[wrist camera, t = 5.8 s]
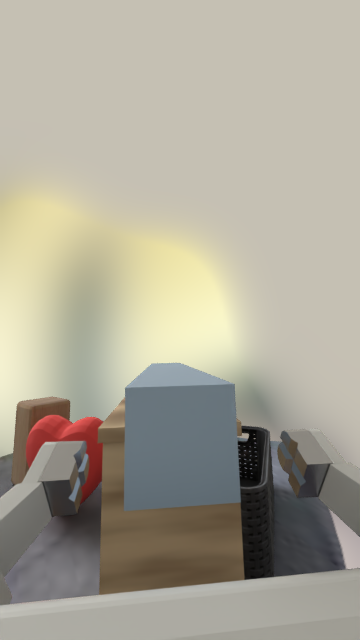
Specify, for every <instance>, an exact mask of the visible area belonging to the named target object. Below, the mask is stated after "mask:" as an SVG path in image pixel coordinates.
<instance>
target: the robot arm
mask: <svg viewBox="0 0 360 640" xmlns="http://www.w3.org/2000/svg"><path fill="white" fill-rule="evenodd" d="M280 438H281V439H282V442H281V443H280V444H279V445H278V451H277V452H278V459H279V462H280V465H281V467H282V469H283V470H284V471H285V472H286V473H288V474H289V480H288V481H289V483H290V485H291V487H292V488H293V490H294V492H295V494H296V496H297V498H302V497H318V498H319V499H320V500H321V501H322V502H323V503H324V504H325V505H326V506H327V507H328V508H329V509H330V510H332V511H333V512H334V513H335V514H336V515H337V516H338V517H339V518H340V519H341V520H342V521H343V522H344V523H345V524H346V525H348V526H349V527H350V528H351V529H352V530H353V531H354V532H355V533H356V534H357V535H358V536H359V537H360V469H359V468H358V467H356V466H354V465H353V464H351V463H346V461H345V460H344V459H343V458H342V456H341V455H340V454H339V453H338V451H337V450H336V449H335V448H334V447H333V445H332V444H331V443H330V441H329V440H328V439H327V437H326V436H325V435H324V434H323V432H322V431H321V430H319V429H300V430H284V431H283V432H282V433H281V437H280ZM86 449H87V444H86V441H59V442H45V443H44V444H43V445H42V446H41V448H40V450H39V452H38V454H37V456H36V457H35V459H34V461H33V463H32V465H31V467H30V469H29V470H28V472H27V474H26V476H25V478H24V480H23V482H22V483H20V484H16V485H15V486H14V487H13V488H12V489H10V490H9V491H8V492H7V493H6V494H4V495H3V496H2V497H1V498H0V640H360V568H357V569H347V570H337V571H327V572H317V573H308V574H298V575H288V576H278V577H269V578H259V579H249V580H240V581H230V582H220V583H210V584H201V585H191V586H181V587H172V588H162V589H152V590H143V591H133V592H123V593H114V594H104V595H94V596H84V597H75V598H65V599H55V600H46V601H36V602H26V603H16V604H10V602H11V599H12V595H11V592H10V590H9V587H8V585H7V583H6V581H5V579H4V577H5V576H6V575H7V573H8V572H9V571H10V570H11V568H12V567H13V566H14V565H15V563H16V562H17V561H18V560H19V559H20V557H21V556H22V555H23V554H24V552H25V551H26V550H27V549H28V548H29V546H30V545H31V544H32V543H33V541H34V540H35V539H36V538H37V536H38V535H39V534H40V533H41V532H42V530H43V529H44V528H45V527H46V525H47V524H48V523H49V522H50V520H51V519H52V517H54V516H64V515H73V514H77V512H78V508H79V505H80V501H81V498H82V489H81V487H82V486H83V485H84V484H85V483H86V480H87V477H88V471H89V456H88V455H87V454H86Z"/></svg>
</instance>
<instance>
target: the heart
mask: <svg viewBox="0 0 360 640" xmlns="http://www.w3.org/2000/svg"><path fill="white" fill-rule="evenodd" d="M102 423H103V421H101V420H100V419H98V418H95V417H86V418H83V419H81V420H78V421H76V422H75V423H72V422H70V421H69V420H67V419H65V418H63V417H61V416H59V415H49V416H46V417H44V418H42V419H41V420H39V421H38V422H37V423H36V424H35V425H34V427H33V428H32V430H31V431H30V433H29V436H28V439H27V443H26V459H27V463H28V466H29V469H30V467H31V465H32V463H33V461H34V459H35V457H36V456H37V454H38V452H39V450H40V448H41V446H42V445H43V444H44V443H45V442H59V441H86V444H87V449H86V454H87V455H88V456H89V471H88V477H87V480H86V483H85V484H84V485H83V486H82V487H81V489H82V498H81V501H80V504H81V503H82V502H84V501H85V500H86V499H87V498H88V497H89V496H90V494H91V493H92V492H93V491H94V490H95V489H96V487H97V486H98V485H99V483H100V482H101V481H102V460H103V443H98V428H99V427H100V426H101V424H102Z"/></svg>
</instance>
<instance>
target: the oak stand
mask: <svg viewBox="0 0 360 640" xmlns="http://www.w3.org/2000/svg"><path fill="white" fill-rule="evenodd" d="M236 422H237V436H241V435H242V429H241V421H239V420H238V419H237V418H236ZM98 443H103V460H102V503H101V545H100V588H99V595H104V594H114V593H123V592H133V591H143V590H152V589H162V588H172V587H181V586H191V585H201V584H210V583H220V582H230V581H240V580H244V562H243V543H242V524H241V505H240V503H226V504H213V505H199V506H186V507H172V508H158V509H145V510H131V511H124V464H125V398H124V399H123V400H122V401H121V402H120V404H119V405H118V406H117V407H116V408H115V410H113V412H112V413H111V414H110V415H109V416H108V418H107V419H106V420H105V421H104V422H103V423H102V424H101V426H100V427H99V428H98Z"/></svg>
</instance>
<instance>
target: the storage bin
mask: <svg viewBox="0 0 360 640" xmlns="http://www.w3.org/2000/svg"><path fill="white" fill-rule="evenodd" d="M241 429H242V433H248V434H249V438H248V441H238V445H240V446H238V449H239V450H238V459H239V458H241V459H239V467H241V468H239V471H241V472H239V478H240V496H241V502H240V505H241V524H242V543H243V562H244V580H249V579H259V578H269V577H274V485H273V474H272V457H271V446H270V432H269V431H268V430H267V429H264V428H260V427H252V426H241ZM253 434H255V435H253ZM254 438H256V439H254ZM250 442H251V443H250ZM255 443H256V444H255ZM243 446H246V447H243ZM250 446H251V447H250ZM254 447H256V448H254ZM244 450H246V451H244ZM249 451H251V452H249ZM255 451H257V452H255ZM239 454H241V455H239ZM244 454H245V455H244ZM250 455H252V456H250ZM255 456H257V457H255ZM244 459H246V460H244ZM240 462H241V464H240ZM244 463H246V464H244ZM250 464H252V465H250ZM256 465H257V466H256ZM244 467H245V468H244ZM246 468H247V469H246ZM250 468H252V469H250ZM245 472H246V473H245ZM251 473H253V474H251ZM240 475H241V476H240ZM245 476H246V477H245ZM250 477H252V478H250Z"/></svg>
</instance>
